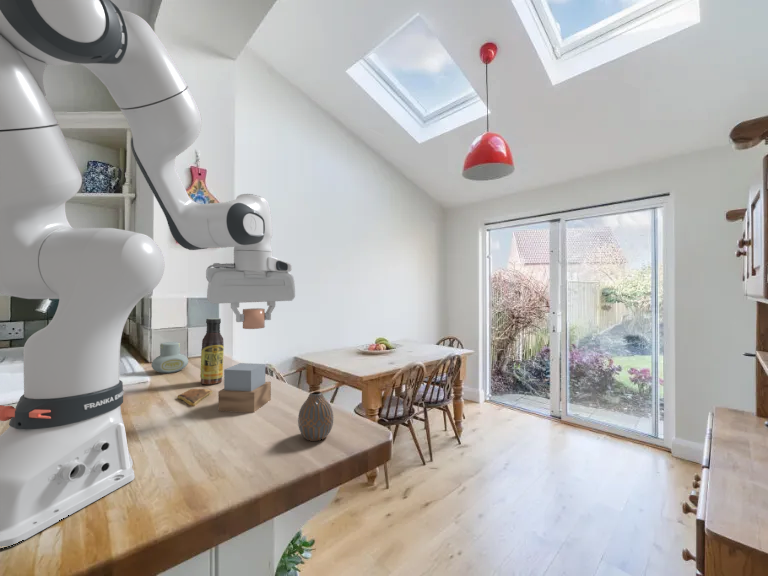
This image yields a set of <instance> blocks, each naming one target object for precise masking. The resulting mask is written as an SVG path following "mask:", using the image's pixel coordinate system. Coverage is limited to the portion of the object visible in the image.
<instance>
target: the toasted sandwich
mask: <svg viewBox="0 0 768 576" xmlns="http://www.w3.org/2000/svg"><path fill="white" fill-rule="evenodd" d="M212 394H213V390H211V389H208V388H207V389H206V388H190V389H188V390H186V391H184V392H182V393H181V394H178V395H177V398H178V400H181V401H182V400H183V402H185V403H186V404H187V405H189V406H192V407H196V406H197V405H198V404H199V403H200V402H201V401H203V400H205V398H208V397H209V396H210V395H212Z"/></svg>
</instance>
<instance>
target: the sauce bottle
mask: <svg viewBox="0 0 768 576" xmlns="http://www.w3.org/2000/svg"><path fill="white" fill-rule="evenodd" d="M205 321H206V322H205V323H206V331H205V332H206V333H205V335H204V336H203V338H202V340H201V353H200V377H199V378H200V384H202V385H208V386H209V385H210V386H211V385H217V384H219V383H220V384H221V382H222V381H223V378H224V350H225V346H224V337H223V336H222V333H221V321H222V320H221V318H219V317H215V318H214V317H211V318H210V317H208V318H206V320H205Z"/></svg>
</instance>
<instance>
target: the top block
mask: <svg viewBox="0 0 768 576" xmlns="http://www.w3.org/2000/svg"><path fill="white" fill-rule="evenodd" d="M223 382H224V383H223V386H224V387H223V389H224V390H231V391H253V390H255V389H256V388H258V387H260V386H261V385H263V384H265V382H266V363H251V362H250V363H249V362H240V363H239V362H238V363H237V364H235V365H232V366H229V367H226V368H223Z"/></svg>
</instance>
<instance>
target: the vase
mask: <svg viewBox="0 0 768 576" xmlns="http://www.w3.org/2000/svg"><path fill="white" fill-rule="evenodd" d="M297 423H298V424H297V426H298V429H299V433H300V434H301V436H302V437H303V438H305V439H306V440H307V441H309V440H310V441H311V442H318V440H319V441H322V440H324V439H325V438H326V437H328V435H329V434H330V433H331V431H332V429H333V426H334V411H333V408H332V406H331V404H330V403H329V401H328V400H327V399H326V398H325V397H324V394H323V392H322V391H320V390H319V391H318V390H317V391H311V392H309V394H308V397H307V398H306V400H305V401H304V402H303V404H302V405H301V407H300V409H299V411H298V416H297ZM321 439H322V440H321Z"/></svg>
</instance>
